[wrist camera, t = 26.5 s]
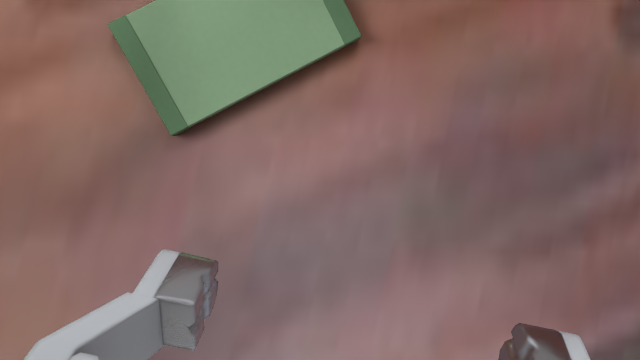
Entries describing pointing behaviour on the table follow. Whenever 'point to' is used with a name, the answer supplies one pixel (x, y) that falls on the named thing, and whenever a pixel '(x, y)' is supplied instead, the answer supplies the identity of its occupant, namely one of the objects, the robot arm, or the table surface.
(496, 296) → the table surface
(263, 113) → the table surface
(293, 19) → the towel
